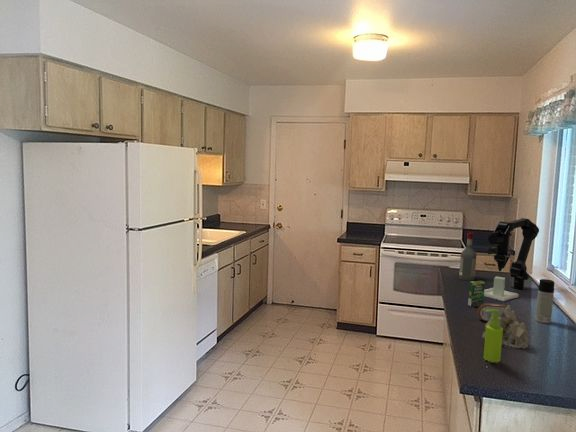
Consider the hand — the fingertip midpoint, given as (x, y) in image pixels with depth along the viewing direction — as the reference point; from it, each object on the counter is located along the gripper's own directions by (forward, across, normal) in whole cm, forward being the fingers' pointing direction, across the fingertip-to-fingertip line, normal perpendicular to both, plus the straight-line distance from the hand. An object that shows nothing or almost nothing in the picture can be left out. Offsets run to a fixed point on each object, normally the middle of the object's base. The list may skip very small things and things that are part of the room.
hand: (501, 269), depth 282 cm
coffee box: (+13, +40, -5) cm, 42 cm away
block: (+12, +11, +1) cm, 17 cm away
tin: (+13, +60, +8) cm, 62 cm away
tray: (+13, +11, +1) cm, 17 cm away
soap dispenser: (+13, +111, +16) cm, 113 cm away
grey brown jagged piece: (+14, +86, +17) cm, 88 cm away
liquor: (+13, -19, -23) cm, 33 cm away
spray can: (+13, +45, +27) cm, 54 cm away
